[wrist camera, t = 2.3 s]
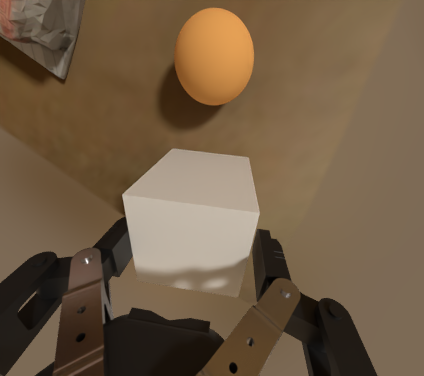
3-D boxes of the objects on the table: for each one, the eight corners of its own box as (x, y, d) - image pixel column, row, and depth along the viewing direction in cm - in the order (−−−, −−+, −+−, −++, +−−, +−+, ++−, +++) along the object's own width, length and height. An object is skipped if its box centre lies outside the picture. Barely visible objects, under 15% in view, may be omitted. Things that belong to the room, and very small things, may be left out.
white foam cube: (236, 219, 20) (237, 297, 13) (173, 210, 21) (137, 281, 13) (248, 157, 17) (259, 213, 9) (172, 148, 17) (122, 194, 10)
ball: (193, 108, 15) (176, 115, 11) (177, 34, 13) (149, 6, 9) (253, 97, 15) (260, 99, 10) (247, 15, 12) (254, -27, 8)
